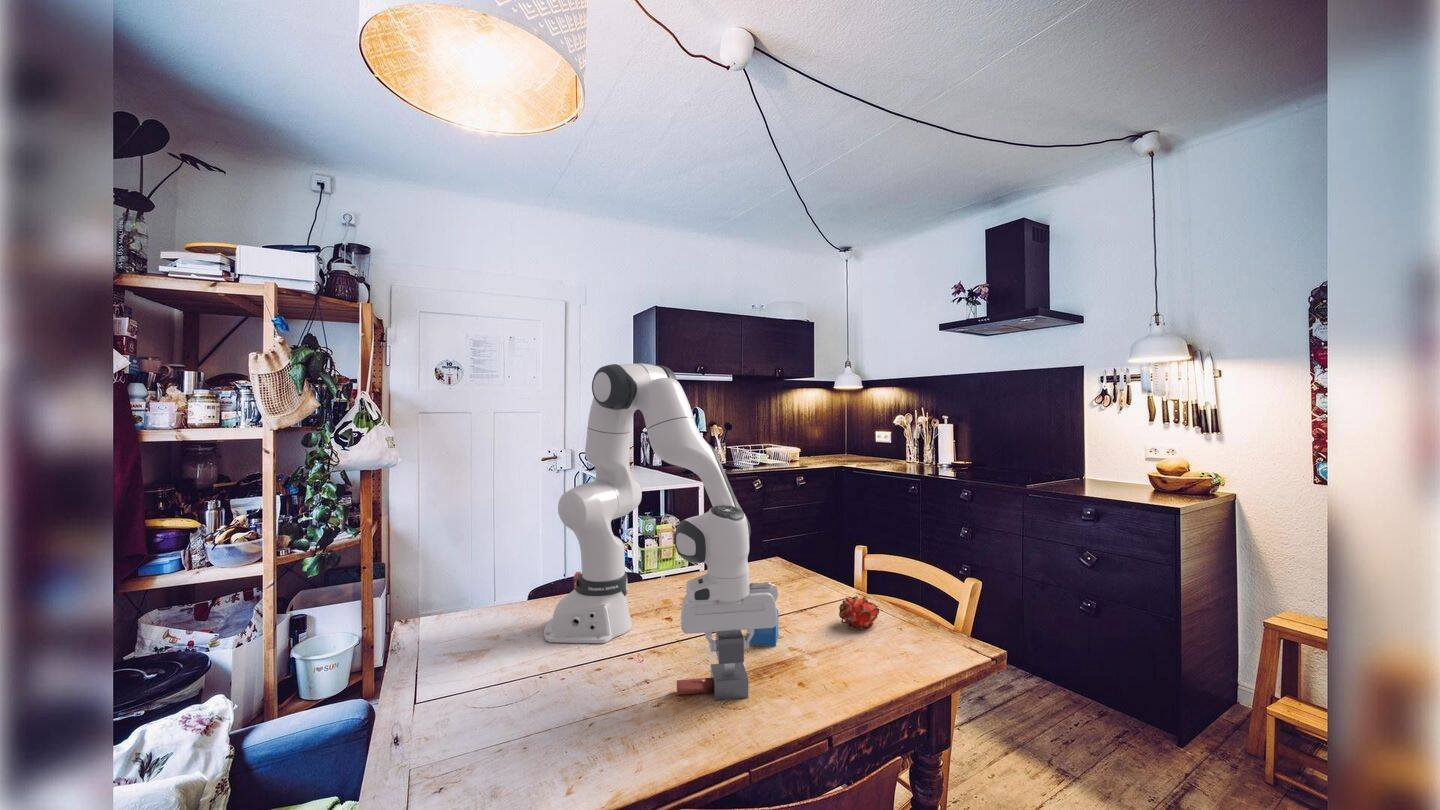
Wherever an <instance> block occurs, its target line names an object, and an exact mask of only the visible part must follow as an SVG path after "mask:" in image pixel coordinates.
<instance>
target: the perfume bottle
mask: <svg viewBox="0 0 1440 810" xmlns="http://www.w3.org/2000/svg"><path fill="white" fill-rule="evenodd" d="M776 610H777V624H776V625H775V627H773V628H760V629H754V635H753V636H752V638H751V640H750V645H754V646H755V645H756V646H763V647H764V646H765V647H775V646H776V647H777V644H776V643H778V638H779V610H778V608H777V607H776ZM766 645H767V646H766Z"/></svg>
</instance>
